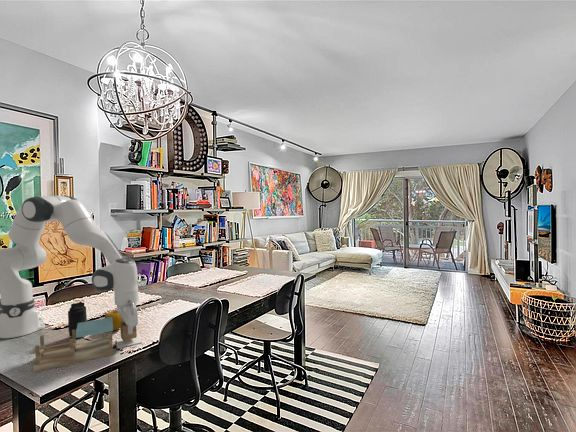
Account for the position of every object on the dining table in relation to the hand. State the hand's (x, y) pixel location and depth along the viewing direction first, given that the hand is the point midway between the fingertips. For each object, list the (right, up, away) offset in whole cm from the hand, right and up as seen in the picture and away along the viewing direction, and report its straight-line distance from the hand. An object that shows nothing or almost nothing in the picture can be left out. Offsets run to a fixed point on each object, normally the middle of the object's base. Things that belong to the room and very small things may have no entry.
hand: (128, 331), depth 133 cm
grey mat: (0, -5, 0) cm, 5 cm away
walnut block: (0, -3, 0) cm, 3 cm away
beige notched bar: (-15, -5, -11) cm, 19 cm away
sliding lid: (-9, +3, -8) cm, 12 cm away
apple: (-13, -5, +14) cm, 19 cm away
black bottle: (-25, -5, +7) cm, 27 cm away
